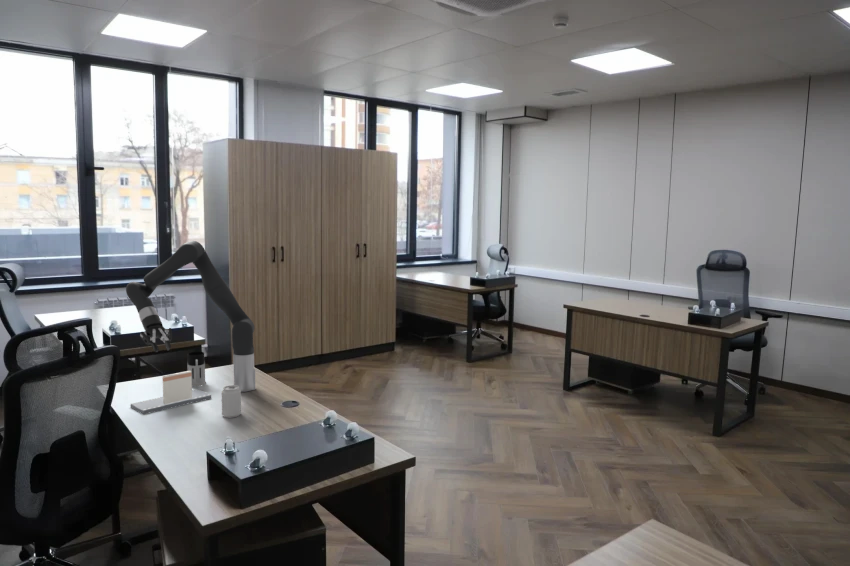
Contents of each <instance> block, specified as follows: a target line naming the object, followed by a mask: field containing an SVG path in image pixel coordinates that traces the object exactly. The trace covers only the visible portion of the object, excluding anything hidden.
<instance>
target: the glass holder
mask: <svg viewBox="0 0 850 566" xmlns="http://www.w3.org/2000/svg"><path fill="white" fill-rule="evenodd" d="M186 365H187V370H186V371H191V374H192V387H193V386H194V387H201V385H202V386H205V385H206V384H207V381H206V362H205V352H203V351H190V352H188V353H187V363H186ZM204 384H205V385H204Z"/></svg>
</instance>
